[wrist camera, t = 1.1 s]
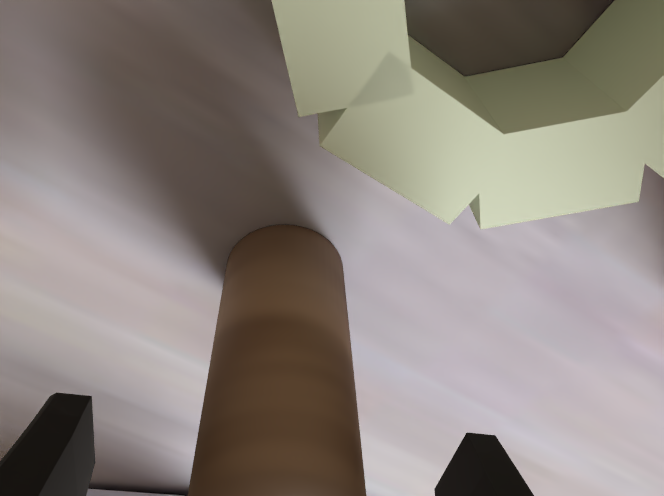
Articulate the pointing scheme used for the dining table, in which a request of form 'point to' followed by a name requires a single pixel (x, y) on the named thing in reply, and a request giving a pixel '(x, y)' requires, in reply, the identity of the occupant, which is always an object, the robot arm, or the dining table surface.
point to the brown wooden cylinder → (280, 375)
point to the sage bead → (482, 111)
